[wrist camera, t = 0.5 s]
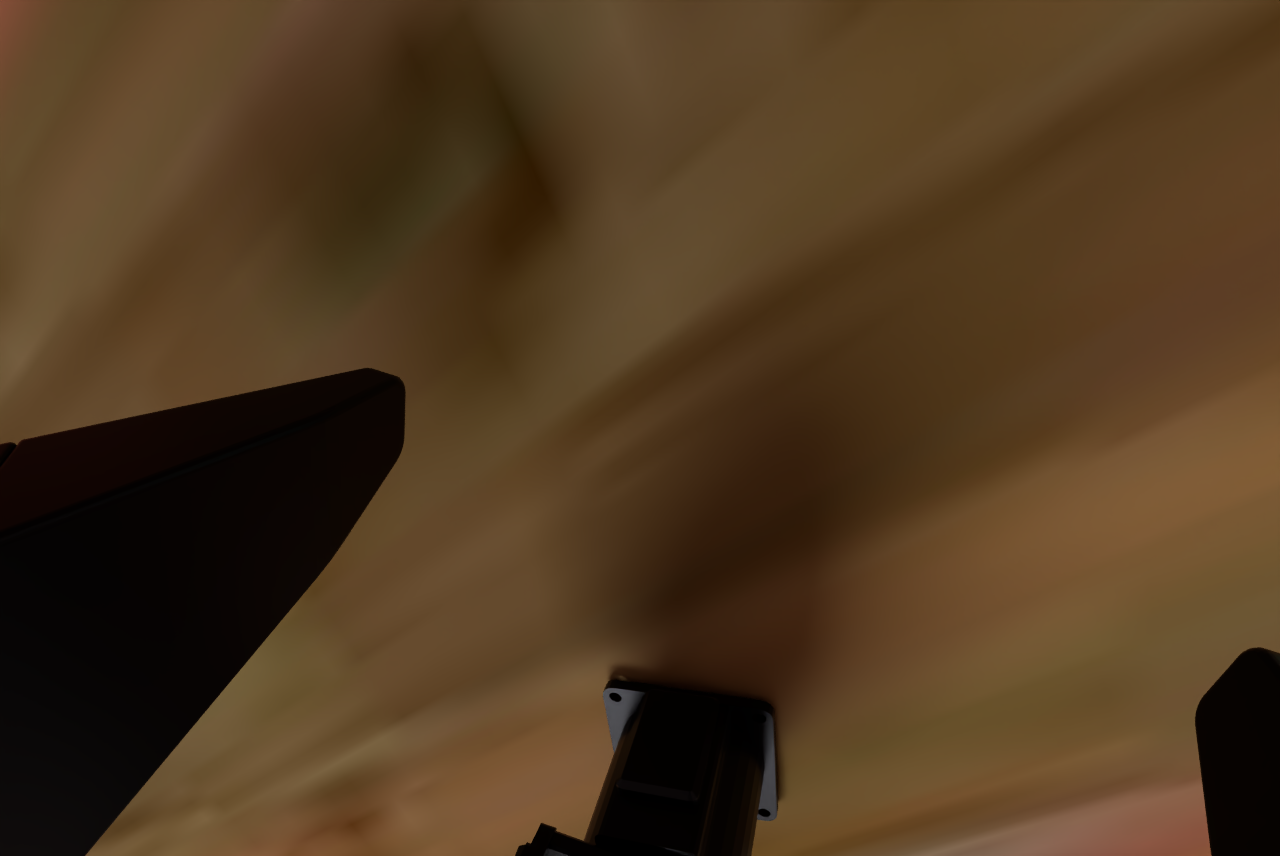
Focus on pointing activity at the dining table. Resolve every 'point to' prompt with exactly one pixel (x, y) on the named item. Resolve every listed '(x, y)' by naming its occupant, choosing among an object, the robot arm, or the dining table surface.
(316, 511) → the robot arm
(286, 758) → the dining table surface
